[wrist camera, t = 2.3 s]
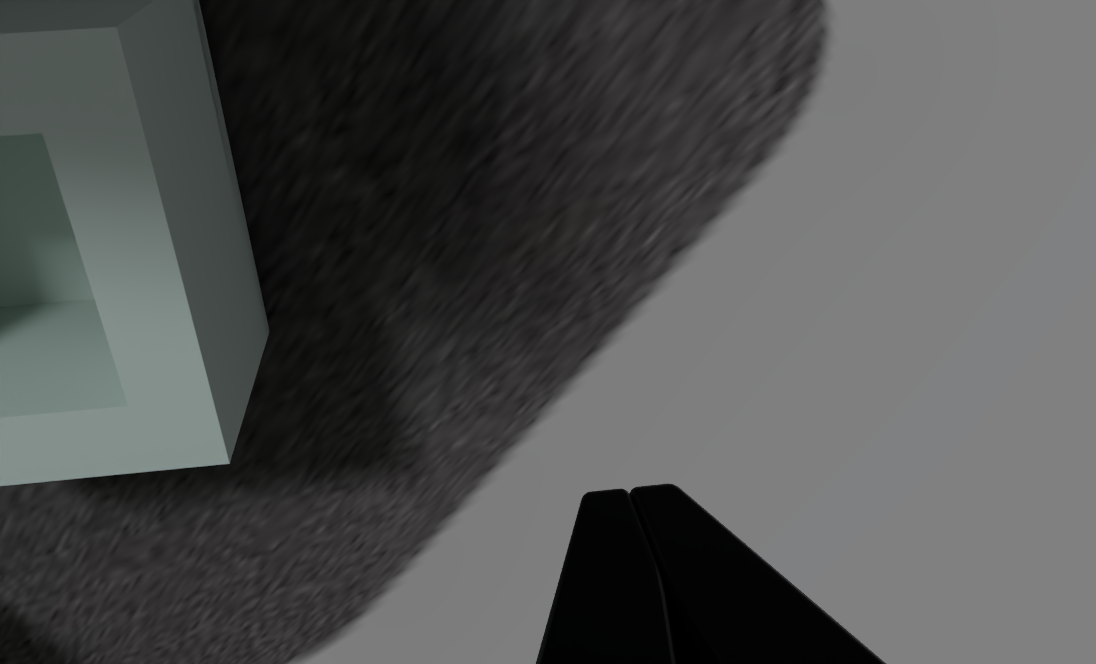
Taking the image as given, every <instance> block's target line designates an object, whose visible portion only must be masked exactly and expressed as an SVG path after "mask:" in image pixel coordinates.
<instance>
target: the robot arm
mask: <svg viewBox="0 0 1096 664" xmlns="http://www.w3.org/2000/svg"><path fill="white" fill-rule="evenodd" d="M536 664H886V663H884V662H883V661H882V660H881V659H880V658H879V657H878V656H876V655H875V654H874V653H873V652H872V651H871V650H869V649H868V648H867V647H866V646H864V645H863V644H862V643H861V642H860V641H859V640H858V639H856V638H855V637H854V636H853V635H852V634H851V633H849V632H848V631H847V630H846V629H845V628H843V627H842V626H841V625H840V624H839V623H838V622H836V621H835V620H834V619H833V618H832V617H831V616H829V615H828V614H827V613H826V612H825V611H824V610H822V609H821V608H820V607H819V606H818V605H816V604H815V603H814V602H813V601H812V600H811V599H809V598H808V597H807V596H806V595H805V594H804V593H802V592H801V591H800V590H799V589H798V588H796V587H795V586H794V585H793V584H792V583H791V582H789V581H788V580H787V579H786V578H785V577H784V576H782V575H781V574H780V573H779V572H778V571H776V570H775V569H774V568H773V567H772V566H771V565H769V564H768V563H767V562H766V561H765V560H763V559H762V558H761V557H760V556H759V555H758V554H756V553H755V552H754V551H753V550H752V549H751V548H749V547H748V546H747V545H746V544H745V543H744V542H742V541H741V540H740V539H739V538H738V537H736V536H735V535H734V534H733V533H732V532H731V531H729V530H728V529H727V528H726V527H725V526H724V525H722V524H721V523H720V522H719V521H718V520H717V519H715V518H714V517H713V516H712V515H710V513H708V512H707V511H706V510H705V509H704V508H702V507H701V506H700V505H699V504H698V503H697V502H695V501H694V500H693V499H692V498H691V497H690V496H688V495H687V494H686V493H685V492H683V491H682V490H681V489H680V488H679V487H677V486H675V485H673V484H661V485H651V486H641V487H635V488H634V489H632V490H631V492H630V494H629V493H628V492H627V491H626V490H624V489H613V490H603V491H593V492H588V493H586V494H585V495H584V496H583V498H582V500H581V503H580V507H579V511H578V514H577V518H576V521H575V525H574V529H573V533H572V536H571V539H570V543H569V546H568V550H567V554H566V557H565V561H564V564H563V568H562V572H561V575H560V579H559V582H558V586H557V590H556V593H555V597H554V600H553V604H552V607H551V611H550V615H549V618H548V622H547V625H546V629H545V633H544V636H543V640H542V643H541V647H540V651H539V654H538V658H537V661H536Z"/></svg>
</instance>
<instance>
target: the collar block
mask: <svg viewBox="0 0 1096 664" xmlns="http://www.w3.org/2000/svg"><path fill="white" fill-rule="evenodd" d="M268 335H269V326H268V322H267V317H266V312H265V308H264V303H263V298H262V294H261V289H260V284H259V280H258V275H257V270H256V266H255V261H254V256H253V251H252V247H251V242H250V237H249V233H248V228H247V223H246V219H245V214H244V209H243V205H242V200H241V195H240V190H239V186H238V181H237V176H236V172H235V167H234V162H233V158H232V153H231V148H230V144H229V139H228V134H227V130H226V125H225V120H224V115H223V111H222V106H221V101H220V97H219V92H218V87H217V83H216V78H215V73H214V69H213V64H212V59H211V54H210V50H209V45H208V40H207V36H206V31H205V26H204V22H203V17H202V12H201V8H200V3H199V0H0V486H6V485H17V484H27V483H37V482H47V481H58V480H68V479H78V478H88V477H99V476H109V475H119V474H129V473H140V472H150V471H160V470H170V469H181V468H191V467H201V466H211V465H222V464H230V461H231V457H232V454H233V451H234V448H235V444H236V441H237V438H238V434H239V431H240V428H241V424H242V421H243V418H244V414H245V411H246V408H247V404H248V401H249V398H250V394H251V391H252V388H253V385H254V381H255V378H256V375H257V371H258V368H259V365H260V361H261V358H262V355H263V351H264V348H265V345H266V341H267V338H268Z"/></svg>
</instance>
